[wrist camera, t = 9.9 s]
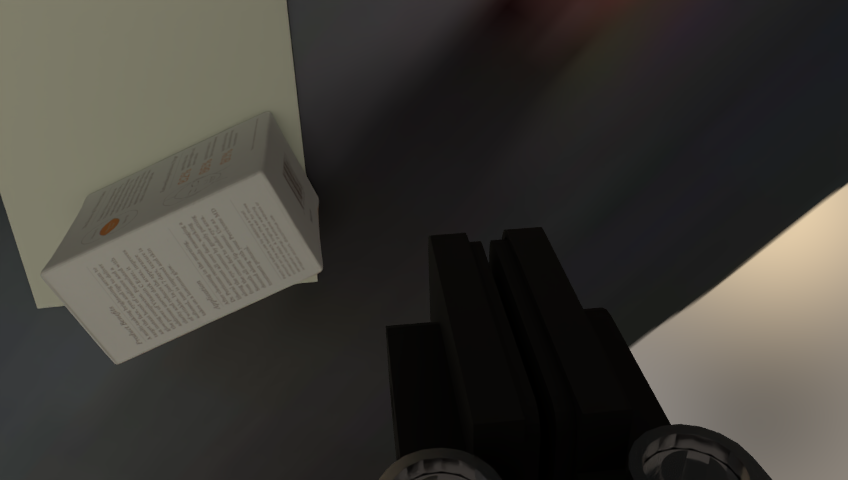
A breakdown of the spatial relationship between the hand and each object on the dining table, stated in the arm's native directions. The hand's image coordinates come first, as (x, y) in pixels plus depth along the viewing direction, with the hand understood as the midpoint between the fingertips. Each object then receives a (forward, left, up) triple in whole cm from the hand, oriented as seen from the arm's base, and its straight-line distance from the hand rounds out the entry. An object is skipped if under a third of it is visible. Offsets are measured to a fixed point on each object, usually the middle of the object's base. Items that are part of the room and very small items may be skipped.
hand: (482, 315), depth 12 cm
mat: (+11, +6, -28) cm, 31 cm away
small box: (+4, +8, -24) cm, 25 cm away
